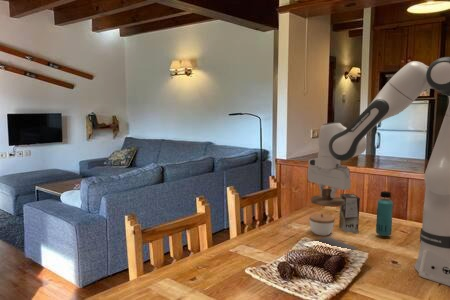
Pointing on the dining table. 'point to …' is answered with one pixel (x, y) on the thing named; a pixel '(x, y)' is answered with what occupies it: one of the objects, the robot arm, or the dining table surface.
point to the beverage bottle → (384, 215)
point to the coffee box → (349, 213)
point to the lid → (327, 199)
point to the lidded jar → (321, 224)
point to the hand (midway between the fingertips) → (327, 196)
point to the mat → (335, 243)
